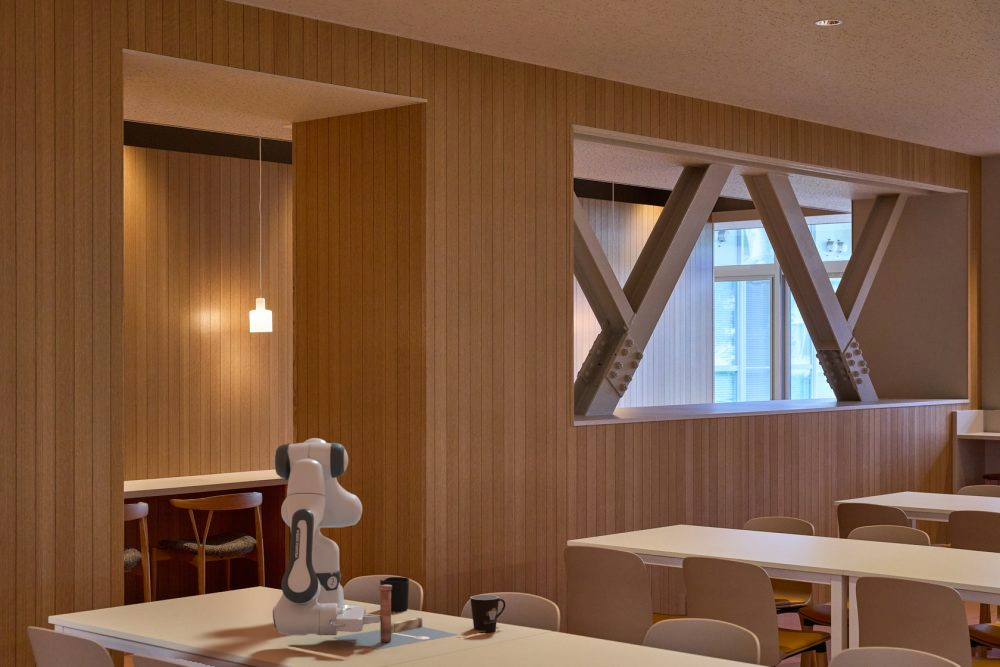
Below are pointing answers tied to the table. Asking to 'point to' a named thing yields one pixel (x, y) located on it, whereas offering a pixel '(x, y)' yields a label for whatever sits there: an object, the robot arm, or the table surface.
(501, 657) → the table surface
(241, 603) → the table surface
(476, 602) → the coffee mug
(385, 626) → the brown wooden l-shaped piece
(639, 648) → the table surface
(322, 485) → the robot arm
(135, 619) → the table surface
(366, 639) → the board
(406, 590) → the pen holder
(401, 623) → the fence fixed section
